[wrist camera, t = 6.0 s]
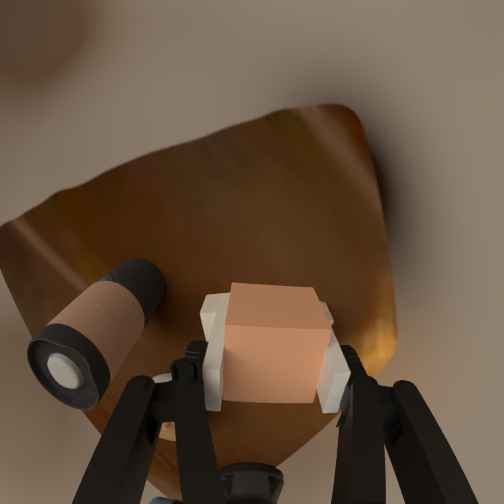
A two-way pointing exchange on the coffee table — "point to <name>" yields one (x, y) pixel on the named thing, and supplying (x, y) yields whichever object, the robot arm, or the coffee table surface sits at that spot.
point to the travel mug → (95, 334)
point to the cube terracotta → (273, 344)
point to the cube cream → (211, 311)
